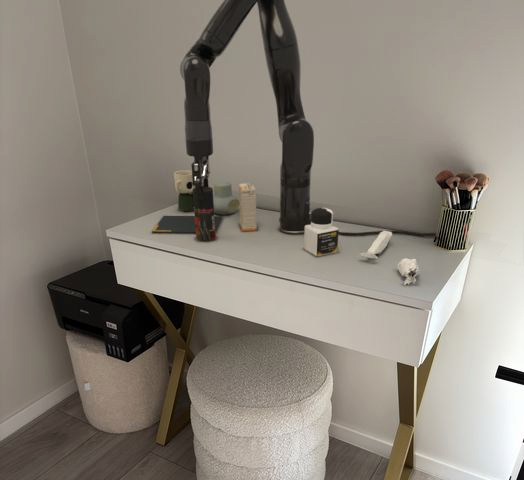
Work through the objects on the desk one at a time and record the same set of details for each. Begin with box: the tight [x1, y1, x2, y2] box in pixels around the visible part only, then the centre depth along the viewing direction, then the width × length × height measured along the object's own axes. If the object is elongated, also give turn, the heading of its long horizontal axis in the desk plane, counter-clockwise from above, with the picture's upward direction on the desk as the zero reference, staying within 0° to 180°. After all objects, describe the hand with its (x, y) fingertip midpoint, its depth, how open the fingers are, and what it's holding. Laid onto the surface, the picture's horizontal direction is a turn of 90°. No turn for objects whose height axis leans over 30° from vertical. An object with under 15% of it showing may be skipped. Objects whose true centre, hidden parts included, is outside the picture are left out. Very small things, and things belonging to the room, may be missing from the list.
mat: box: [151, 215, 223, 235], centre depth 175 cm, size 20×16×1 cm
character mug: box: [173, 169, 195, 212], centre depth 185 cm, size 11×7×13 cm, turn 155°
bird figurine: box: [396, 257, 421, 286], centre depth 136 cm, size 5×7×10 cm
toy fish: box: [357, 230, 393, 259], centre depth 151 cm, size 6×18×4 cm, turn 152°
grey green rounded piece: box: [213, 180, 240, 216], centre depth 183 cm, size 11×8×10 cm
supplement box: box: [238, 182, 258, 232], centre depth 169 cm, size 8×5×13 cm, turn 8°
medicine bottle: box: [303, 207, 340, 257], centre depth 151 cm, size 7×7×12 cm
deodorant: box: [193, 186, 217, 243], centre depth 160 cm, size 6×6×15 cm
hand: (202, 195), depth 157 cm, fingers open, 8 cm apart
